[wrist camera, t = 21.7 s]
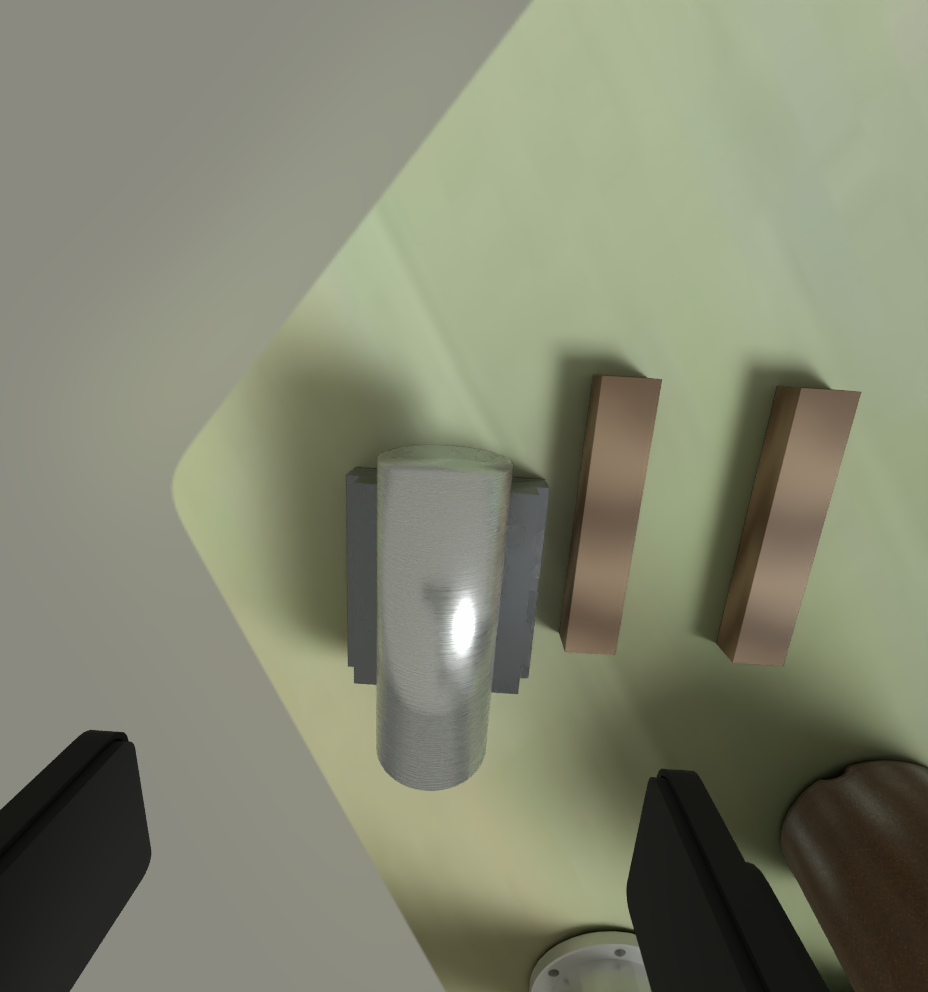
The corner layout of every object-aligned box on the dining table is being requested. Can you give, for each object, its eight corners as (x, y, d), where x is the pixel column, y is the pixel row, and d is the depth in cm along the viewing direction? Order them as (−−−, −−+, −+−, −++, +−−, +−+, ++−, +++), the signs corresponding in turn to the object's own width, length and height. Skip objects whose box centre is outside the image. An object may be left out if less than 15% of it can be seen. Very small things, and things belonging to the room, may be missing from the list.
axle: (486, 706, 29) (484, 796, 23) (389, 697, 29) (363, 784, 24) (510, 450, 24) (515, 484, 18) (392, 441, 24) (361, 472, 18)
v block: (524, 658, 31) (530, 694, 27) (355, 647, 31) (341, 682, 28) (544, 479, 28) (554, 495, 24) (355, 467, 28) (338, 481, 24)
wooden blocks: (763, 646, 30) (783, 666, 28) (559, 633, 30) (564, 651, 28) (832, 389, 26) (861, 392, 24) (593, 374, 26) (602, 375, 24)
